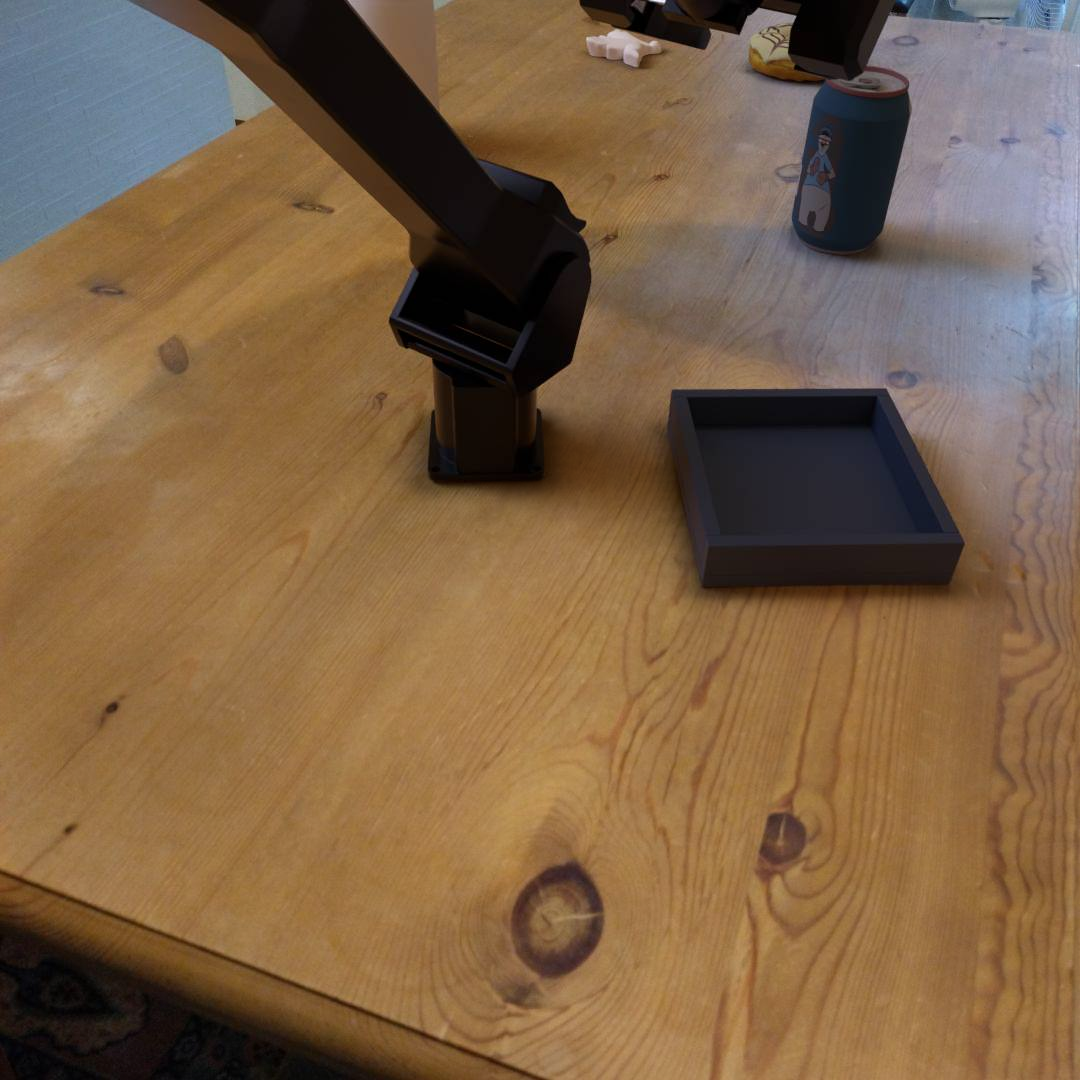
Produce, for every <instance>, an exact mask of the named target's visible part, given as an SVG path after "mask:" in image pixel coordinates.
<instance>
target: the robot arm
mask: <svg viewBox="0 0 1080 1080" xmlns="http://www.w3.org/2000/svg"><path fill="white" fill-rule="evenodd" d="M127 1H128V2H129V3H132V4H133V5H135V6H137V7H139V8H141V9H143V10H144V11H147V12H149V13H151V14H153V16H155V17H156V16H157V17H158V18H160V19H162V20H164V21H166V22H167V23H169V24H171V25H173V26H175V27H177V28H179V29H181V30H182V31H185V32H186V33H188V34H190V35H192V36H194V37H195V38H198V39H200V40H202V41H204V42H205V43H207V44H209V45H211V47H213V48H215V49H216V50H218V51H219V52H220V53H221V54H222V55H223V56H224V57H226V58H227V59H228V60H229V61H230V62H231V63H232V64H233V65H234V66H235V67H236V68H237V69H238V70H239V71H240V72H241V73H242V74H243V75H244V76H245V77H247V78H248V80H249V81H251V82H252V83H253V84H254V85H255V86H256V87H257V88H258V89H259V90H260V91H261V92H262V93H263V94H264V95H266V97H267V98H269V100H271V101H272V102H273V103H274V104H275V106H277V107H278V108H279V109H280V110H281V111H282V112H283V114H284V115H286V116H287V117H288V118H289V119H290V120H291V121H292V122H294V123H295V125H297V126H298V127H299V128H300V129H301V130H302V131H303V132H304V133H305V134H306V135H307V136H308V137H309V138H310V139H311V140H312V141H314V143H315V144H317V146H319V147H320V149H322V151H324V152H325V153H326V154H327V155H328V156H329V157H330V158H331V159H332V160H333V161H334V162H335V163H336V164H337V165H339V167H341V169H342V170H344V172H345V173H347V175H349V176H350V177H351V178H352V179H353V180H354V181H355V182H356V183H357V184H358V185H360V187H361V188H363V189H364V191H365V192H366V193H368V195H370V196H371V197H372V198H373V199H374V200H375V201H376V202H377V203H378V204H379V205H380V206H381V207H382V208H383V209H384V210H385V211H386V212H388V213H389V214H390V216H392V218H394V219H395V220H396V221H397V222H398V223H399V224H400V225H401V226H402V227H403V228H404V229H405V230H406V232H407V233H408V234H409V235H408V257H409V261H410V262H411V264H412V266H413V268H412V270H411V271H410V274H409V276H408V278H407V279H406V282H405V285H404V286H403V288H402V291H401V292H400V294H399V297H398V299H397V301H396V303H395V305H394V306H393V309H392V311H391V313H390V315H389V318H388V325H389V328H390V329H391V332H392V334H393V336H394V338H395V340H396V343H397V345H398V346H399V347H401V348H404V349H406V350H412V351H414V352H416V353H419V354H421V355H423V356H426V357H427V358H430V359H431V367H432V385H433V402H434V409H433V410H432V411H431V413H430V427H429V428H430V429H429V443H428V457H427V458H428V459H427V476H428V479H430V480H431V481H433V482H441V481H442V482H457V481H458V482H460V481H462V482H463V481H464V482H465V481H466V482H467V481H471V482H473V481H474V482H475V481H476V482H477V481H539V480H542V479H543V478H544V477H545V474H546V466H545V465H546V463H545V449H544V434H543V420H542V419H543V418H542V410H541V409H540V408H538V388H539V387H541V386H542V385H543V384H545V383H546V382H547V381H549V380H550V379H552V378H553V377H554V376H556V375H557V374H559V373H561V372H562V371H563V370H564V369H566V368H567V367H568V366H570V365H571V364H572V363H573V359H574V355H575V352H576V347H577V343H578V339H579V336H580V331H581V327H582V323H583V319H584V316H585V311H586V307H587V304H588V299H589V295H590V291H591V287H592V277H593V276H592V274H593V273H592V268H591V265H590V263H591V255H590V249H589V247H588V245H587V242H586V240H585V237H584V236H583V235H582V234H581V232H582V231H583V230H584V229H585V228H586V226H587V221H586V220H585V219H581V218H579V217H576V216H575V214H573V213H572V211H571V209H570V207H569V205H568V203H567V200H566V198H565V195H564V194H563V192H562V191H561V190H560V189H559V187H557V185H556V184H555V183H554V182H553V181H552V180H549V179H545V178H543V177H539V176H536V175H533V174H530V173H526V172H523V171H521V170H518V169H514V168H511V167H508V166H505V165H502V164H500V163H496V162H493V161H490V160H486V159H483V158H480V157H477V156H476V155H475V154H474V153H473V152H472V151H471V149H470V148H469V147H468V146H467V144H465V142H464V141H463V139H462V138H461V137H460V136H459V135H458V133H457V132H456V131H455V130H454V128H452V126H451V125H450V124H449V122H448V121H447V120H446V118H444V116H443V115H442V114H441V112H440V113H439V112H438V110H437V109H436V108H435V107H434V106H433V104H432V103H431V102H430V101H429V99H428V98H427V97H426V96H425V95H424V93H423V92H422V91H421V90H420V88H419V87H418V86H417V85H416V83H415V82H414V81H413V80H412V79H411V77H410V76H409V75H408V74H407V72H406V71H405V70H404V69H403V68H402V66H401V65H400V64H399V63H398V61H397V60H396V59H395V58H394V57H393V55H392V54H391V53H390V52H389V50H388V49H387V48H386V47H385V46H384V44H383V43H382V42H381V41H380V39H379V38H378V37H377V36H376V35H375V33H374V32H373V31H372V30H371V28H370V27H369V26H368V25H367V24H366V22H365V21H364V20H363V19H362V17H361V16H360V15H359V14H358V13H357V11H356V10H355V9H354V8H353V6H352V5H351V4H350V3H349V1H348V0H127ZM896 1H897V0H578V4H579V6H580V7H581V9H582V10H583V11H584V12H585V14H586V15H587V16H588V17H589V18H590V19H591V21H592V22H593V21H594V22H597V23H602V24H606V25H610V26H611V27H612V28H614V29H619V30H621V31H626V32H629V33H634V34H638V35H641V36H646V37H650V38H653V39H657V40H662V41H667V42H670V43H674V44H678V45H681V46H686V47H689V48H693V49H697V50H701V51H705V50H706V49H707V48H708V46H709V43H710V41H711V39H712V32H711V30H714V31H718V32H721V33H722V32H723V33H727V34H731V35H737V36H740V35H741V33H742V31H743V28H744V27H745V23H746V21H747V19H748V17H749V16H752V15H753V14H754V13H755V12H756V11H757V10H758V9H762V10H766V11H771V12H776V13H781V14H785V15H789V16H795V17H794V20H793V22H792V23H793V25H792V27H791V30H790V38H789V46H788V55H789V57H790V59H791V61H792V62H793V63H795V66H794V70H795V71H798V72H802V73H806V74H809V75H813V76H816V77H820V78H824V79H825V80H826V79H827V80H831V79H834V80H835V79H843V80H847V81H850V80H852V79H854V78H856V77H857V76H859V75H861V74H863V72H864V70H865V68H866V66H868V63H869V61H870V59H871V56H872V54H873V52H874V50H875V47H876V45H877V43H878V41H879V39H880V36H881V34H882V31H883V30H884V28H885V25H886V24H887V21H888V19H889V16H890V14H891V13H892V10H893V7H894V5H895V3H896Z"/></svg>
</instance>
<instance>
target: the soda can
mask: <svg viewBox="0 0 1080 1080" xmlns="http://www.w3.org/2000/svg"><path fill="white" fill-rule="evenodd" d="M909 89H910V81H909V79H908V78H907V77H906V76H904V75H903V74H902V73H899V72H897V71H895V70H891V69H888V68H885V67H879V66H873V65H872V66H871V65H866V68H865V70H864V72H863V74H861V75H859V76H857V77H856V78H854V79H852V80H850V81H847V80H843V79H835V80H834V79H831V80H827V79H825V80H824V82H823V83H822V85H821V86H820V88H819V89H818V91H817V92H816V94H815V95H814V97H813V100H812V106H811V110H810V116H809V121H808V126H807V132H806V137H805V143H804V147H803V154H802V158H801V163H800V170H799V175H798V179H797V185H796V191H795V197H794V201H793V207H792V212H791V224H792V226H793V228H794V231H795V234H796V236H797V238H798V241H800V242H801V243H802V244H803V245H804V246H806V247H807V248H810V249H812V250H814V251H818V252H820V253H824V254H829V255H839V256H840V255H843V256H845V255H855V254H858V253H861V252H864V251H866V250H867V249H868V248H869V247H870V246H871V245H872V244H873V243H874V242H875V241H876V240H877V239H878V238H879V236H881V234H882V232H883V230H884V227H885V223H886V219H887V216H888V215H887V214H888V211H889V207H890V206H889V205H890V202H891V198H892V195H893V194H892V193H893V191H894V185H895V182H896V177H897V173H898V170H899V165H900V161H901V158H902V153H903V149H904V145H905V141H906V136H907V133H908V128H909V124H910V120H911V116H912V113H913V106H912V102H911V101H912V100H911V97H910V93H909Z"/></svg>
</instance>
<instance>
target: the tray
mask: <svg viewBox="0 0 1080 1080" xmlns="http://www.w3.org/2000/svg"><path fill="white" fill-rule="evenodd" d="M667 418H668V419H667V425H666V429H667V434H668V439H669V444H670V449H671V453H672V457H673V458H672V459H673V462H674V467H675V472H676V476H677V480H678V486H679V489H680V490H679V491H680V494H681V499H682V503H683V508H684V513H685V518H686V521H687V526H688V530H689V535H690V539H691V545H692V549H693V554H694V559H695V563H696V568H697V572H698V577H699V581H700V585H701V587H702V588H747V587H749V588H752V587H756V588H758V587H760V588H761V587H824V586H826V587H829V586H831V587H832V586H833V587H834V586H897V585H898V586H899V585H901V586H902V585H903V586H904V585H905V586H908V585H912V586H913V585H950V583H951V582H952V579H953V577H954V573H955V572H956V569H957V567H958V563H959V560H960V558H961V556H962V553H963V550H964V548H965V545H966V542H965V540H964V538H963V536H962V534H961V532H960V530H959V528H958V526H957V523H956V522H955V520H954V518H953V516H952V513H951V512H950V510H949V508H948V506H947V505H946V502H945V500H944V499H943V497H942V494H941V492H940V490H939V488H938V486H937V485H936V483H935V481H934V479H933V477H932V475H931V473H930V471H929V469H928V467H927V465H926V463H925V461H924V459H923V457H922V455H921V453H920V451H919V449H918V447H917V445H916V443H915V441H914V440H913V437H912V435H911V434H910V432H909V430H908V427H907V425H906V424H905V422H904V420H903V418H902V416H901V414H900V412H899V410H898V408H897V406H896V404H895V402H894V400H893V398H892V397H891V394H890V393H889V390H888V388H886V387H882V388H881V387H878V388H877V387H871V388H869V387H868V388H867V387H865V388H864V387H863V388H862V387H861V388H859V387H858V388H848V387H847V388H846V387H845V388H731V389H730V388H709V389H708V388H707V389H706V388H703V389H700V388H699V389H698V388H693V389H687V388H686V389H685V388H684V389H683V388H682V389H678V388H677V389H676V388H675V389H671V393H670V399H669V407H668V416H667Z"/></svg>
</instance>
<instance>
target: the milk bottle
mask: <svg viewBox="0 0 1080 1080" xmlns="http://www.w3.org/2000/svg"><path fill="white" fill-rule="evenodd" d="M348 1H349V3H350V4H351V5H352V6H353V8H354V9H355V10H356V11H357V13H358V14H359V15H360V16H361V17H362V19H363V20H364V21H365V22H366V24H367V25H368V26H369V27H370V28H371V30H372V31H373V32H374V33H375V35H376V36H377V37H378V38H379V39H380V41H381V42H382V43H383V44H384V46H385V47H386V48H387V49H388V50H389V52H390V53H391V54H392V55H393V57H394V58H395V59H396V60H397V61H398V63H399V64H400V65H401V66H402V68H403V69H404V70H405V71H406V72H407V74H408V75H409V76H410V77H411V79H412V80H413V81H414V82H415V83H416V85H417V86H418V87H419V88H420V90H421V91H422V92H423V93H424V95H425V96H426V97H427V98H428V99H429V101H430V102H431V103H432V104H433V106H434V107H435V108H436V109H437V110H438V112H439V113H440V114H441V109H440V108H441V107H440V87H439V65H438V47H437V28H436V27H437V25H436V13H435V3H434V0H348Z"/></svg>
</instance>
